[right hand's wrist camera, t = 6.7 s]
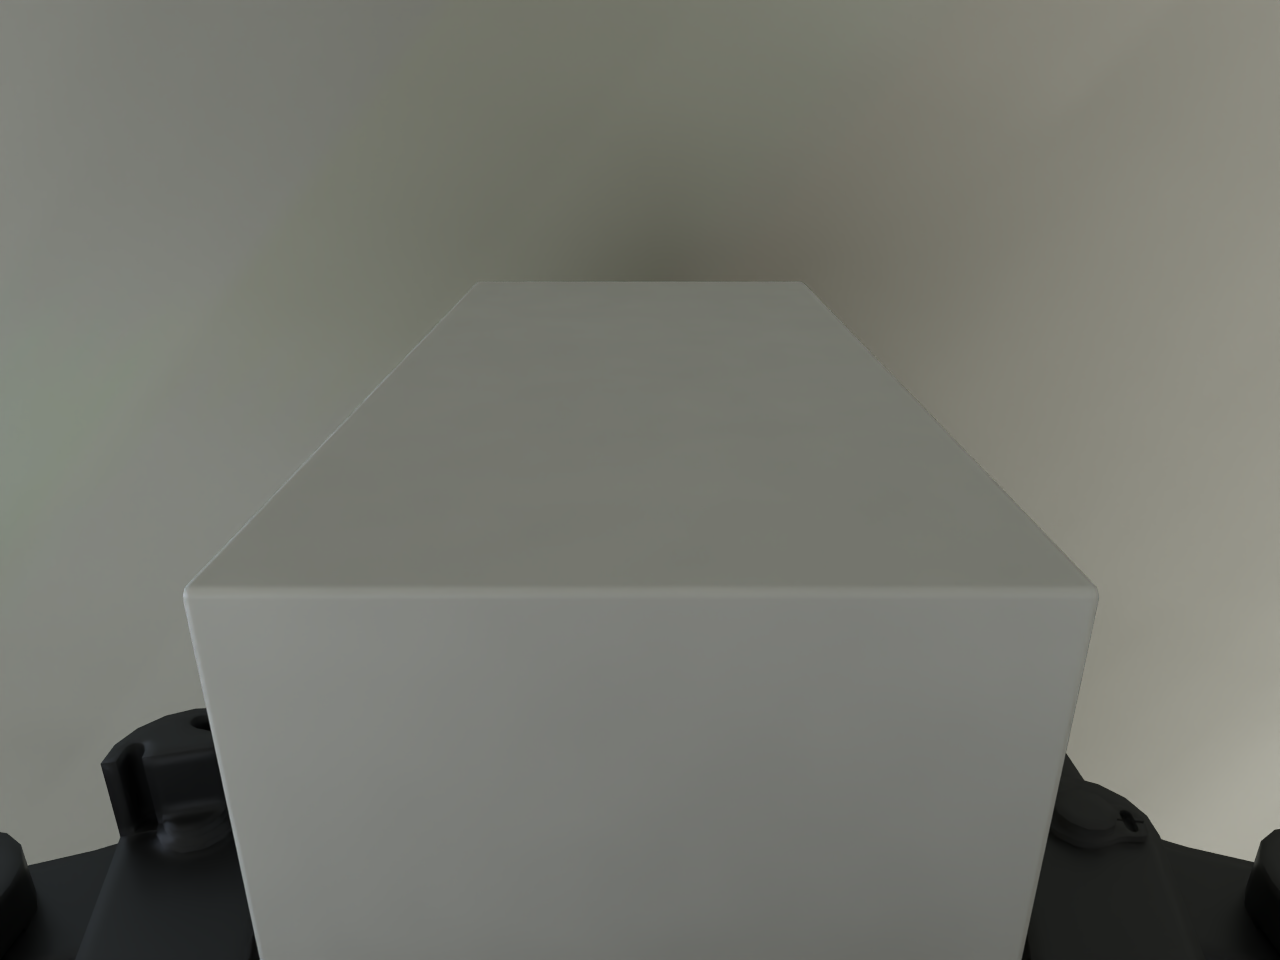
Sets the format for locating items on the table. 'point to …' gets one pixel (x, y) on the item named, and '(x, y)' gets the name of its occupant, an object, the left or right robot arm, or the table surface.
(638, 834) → the bar
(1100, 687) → the table surface
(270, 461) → the table surface
